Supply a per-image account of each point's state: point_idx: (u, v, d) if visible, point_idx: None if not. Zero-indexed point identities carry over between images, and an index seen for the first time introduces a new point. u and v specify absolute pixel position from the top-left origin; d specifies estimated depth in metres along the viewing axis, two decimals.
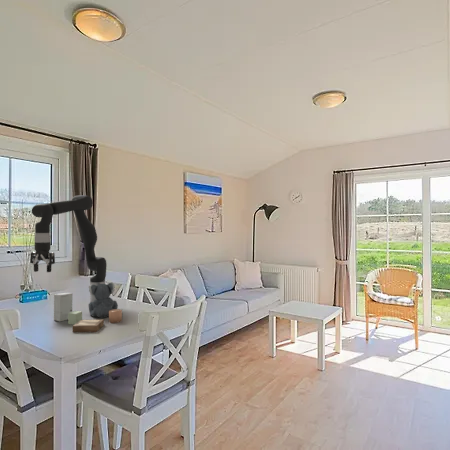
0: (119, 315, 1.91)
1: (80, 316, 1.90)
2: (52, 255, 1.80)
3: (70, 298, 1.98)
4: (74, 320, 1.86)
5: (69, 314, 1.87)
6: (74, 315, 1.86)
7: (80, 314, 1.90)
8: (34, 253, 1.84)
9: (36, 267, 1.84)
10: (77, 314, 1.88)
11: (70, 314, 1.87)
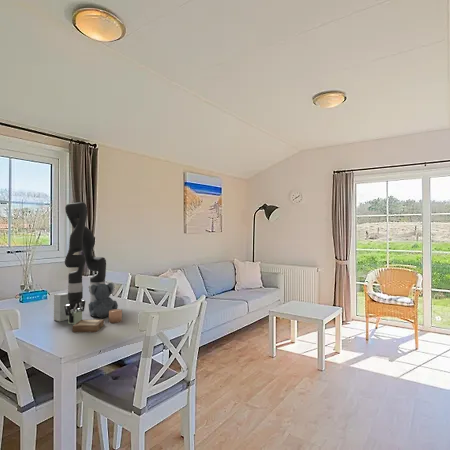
0: (119, 315, 1.91)
1: (80, 316, 1.90)
2: None
3: None
4: (74, 320, 1.86)
5: None
6: (74, 315, 1.86)
7: (80, 314, 1.90)
8: (69, 305, 1.85)
9: None
10: (77, 314, 1.88)
11: None
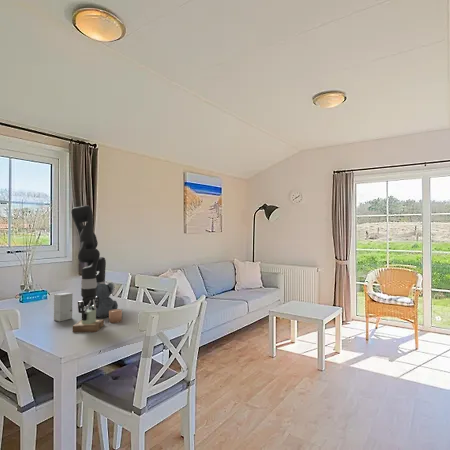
0: (119, 315, 1.91)
1: (94, 315, 1.80)
2: None
3: (70, 298, 1.98)
4: (88, 319, 1.77)
5: None
6: (88, 314, 1.77)
7: (94, 313, 1.80)
8: (82, 301, 1.75)
9: None
10: (91, 313, 1.78)
11: None
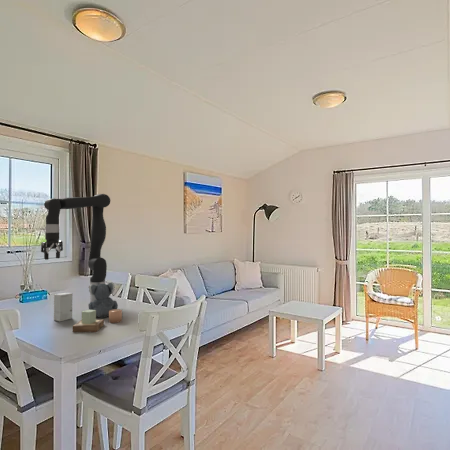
0: (119, 315, 1.91)
1: (94, 315, 1.80)
2: None
3: (70, 298, 1.98)
4: (88, 319, 1.77)
5: (82, 313, 1.78)
6: (88, 314, 1.77)
7: (94, 313, 1.80)
8: (46, 243, 2.00)
9: None
10: (91, 313, 1.78)
11: (84, 313, 1.77)
